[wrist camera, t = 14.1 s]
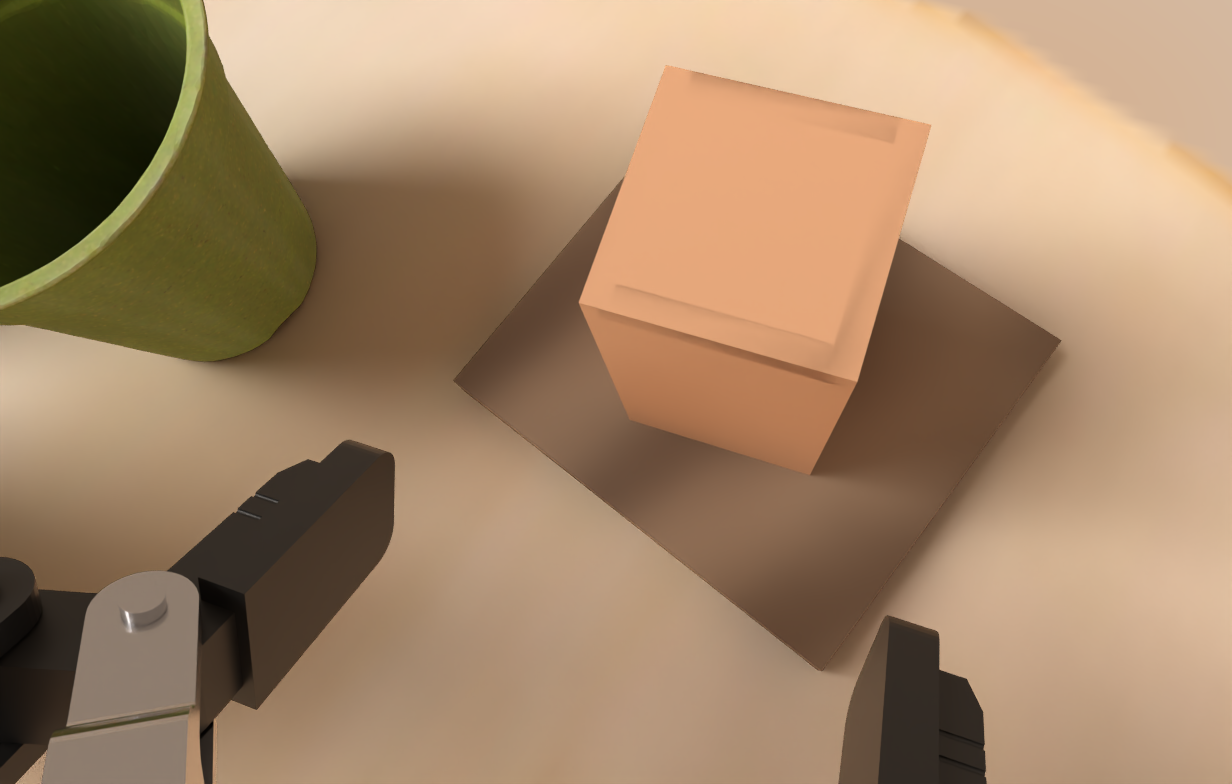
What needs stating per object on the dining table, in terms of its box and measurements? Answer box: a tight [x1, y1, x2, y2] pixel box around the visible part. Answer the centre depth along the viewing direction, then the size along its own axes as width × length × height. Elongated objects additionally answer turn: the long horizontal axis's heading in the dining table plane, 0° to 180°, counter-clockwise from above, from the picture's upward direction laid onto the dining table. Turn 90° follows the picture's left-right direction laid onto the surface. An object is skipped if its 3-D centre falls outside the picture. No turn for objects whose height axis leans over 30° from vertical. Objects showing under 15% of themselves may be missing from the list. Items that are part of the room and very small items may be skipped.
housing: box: [579, 65, 931, 475], centre depth 23 cm, size 6×6×10 cm
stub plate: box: [453, 177, 1061, 671], centre depth 26 cm, size 14×12×6 cm
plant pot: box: [0, 0, 316, 361], centre depth 27 cm, size 12×12×11 cm
